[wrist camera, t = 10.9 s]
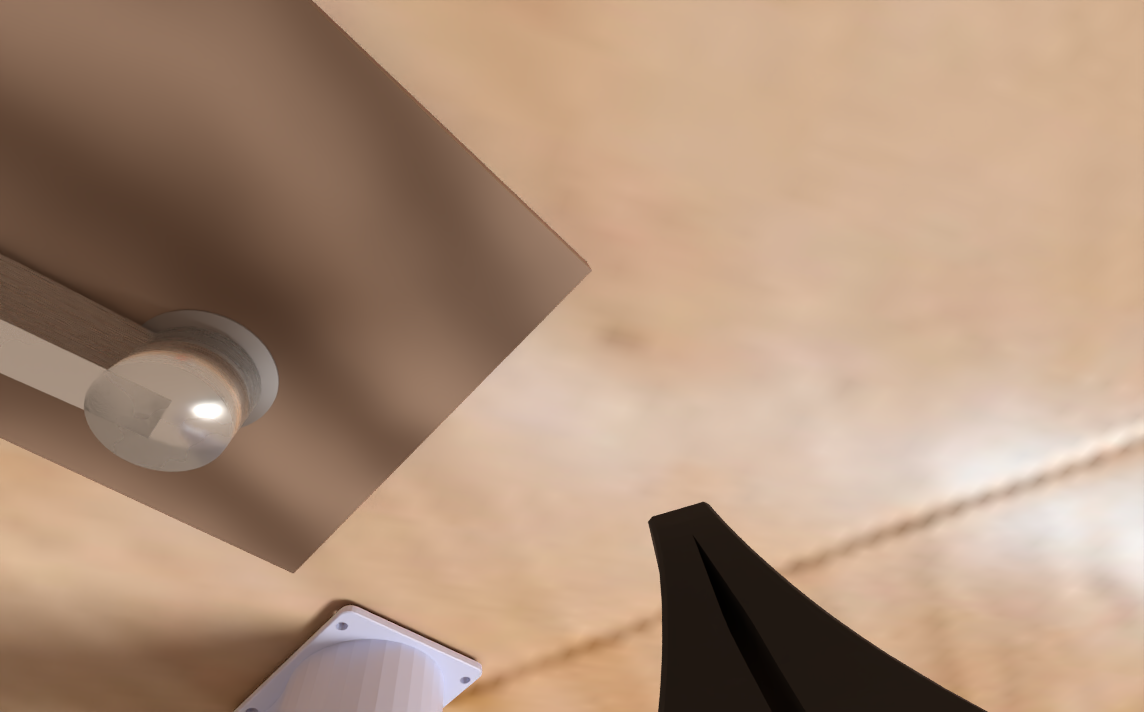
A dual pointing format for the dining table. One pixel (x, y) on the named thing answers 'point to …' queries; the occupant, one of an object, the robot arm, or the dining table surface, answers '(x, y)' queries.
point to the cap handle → (126, 373)
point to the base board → (261, 244)
